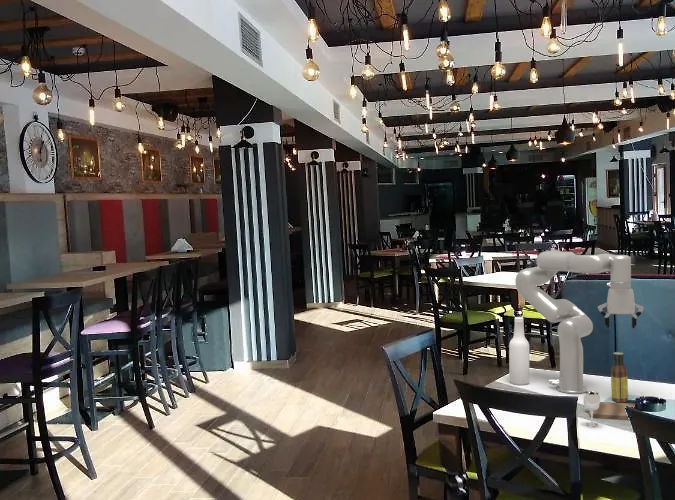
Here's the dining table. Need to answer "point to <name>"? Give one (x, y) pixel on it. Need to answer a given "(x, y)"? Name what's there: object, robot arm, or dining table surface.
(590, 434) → the dining table surface
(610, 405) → the walnut board
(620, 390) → the sauce bottle
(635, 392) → the dining table surface
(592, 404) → the wineglass
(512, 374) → the alcohol
